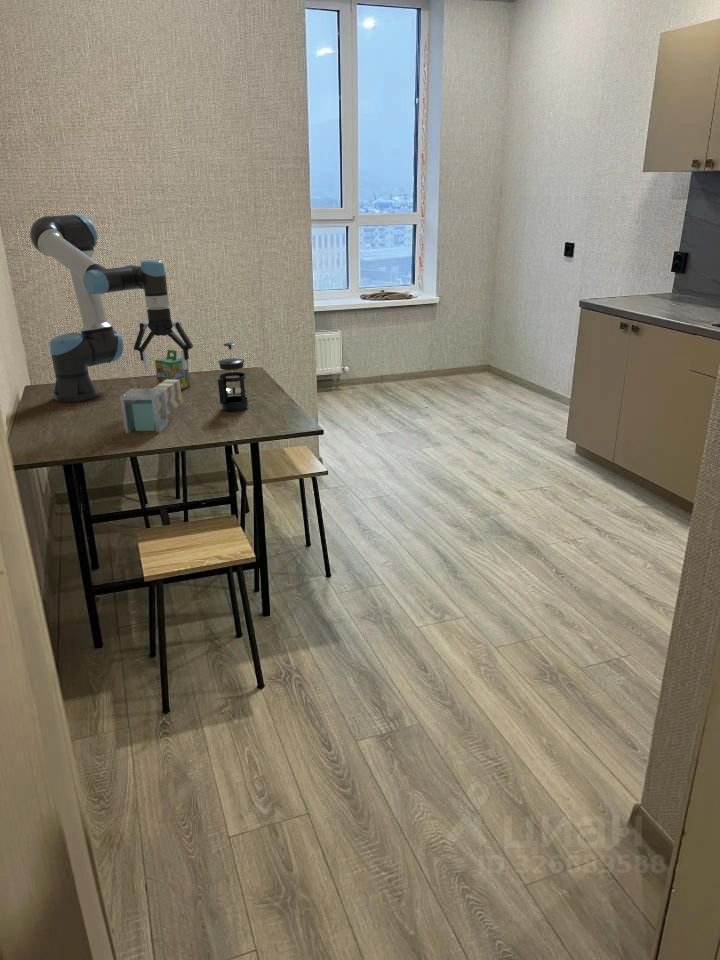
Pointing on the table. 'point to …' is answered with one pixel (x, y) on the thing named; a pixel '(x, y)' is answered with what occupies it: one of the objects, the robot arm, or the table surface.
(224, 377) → the french press
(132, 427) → the grey open box
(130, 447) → the table surface
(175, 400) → the bar
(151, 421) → the block
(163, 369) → the chalk box
